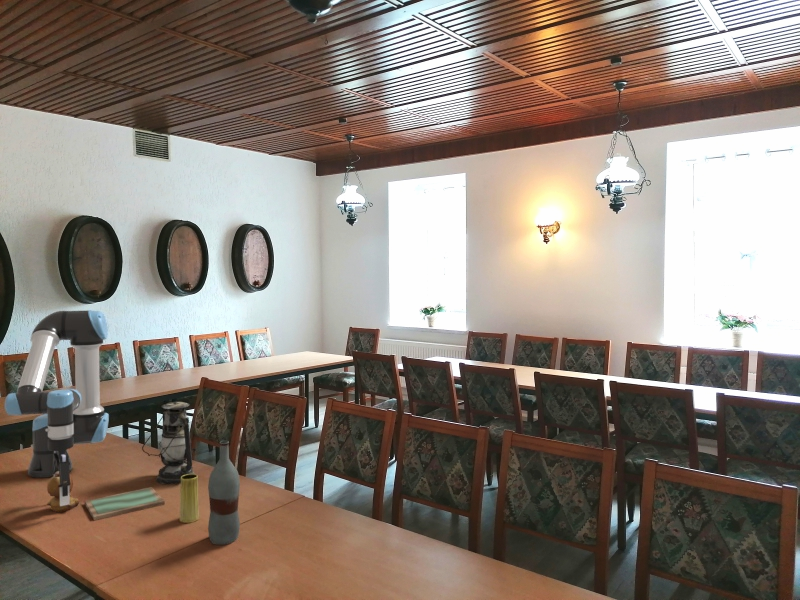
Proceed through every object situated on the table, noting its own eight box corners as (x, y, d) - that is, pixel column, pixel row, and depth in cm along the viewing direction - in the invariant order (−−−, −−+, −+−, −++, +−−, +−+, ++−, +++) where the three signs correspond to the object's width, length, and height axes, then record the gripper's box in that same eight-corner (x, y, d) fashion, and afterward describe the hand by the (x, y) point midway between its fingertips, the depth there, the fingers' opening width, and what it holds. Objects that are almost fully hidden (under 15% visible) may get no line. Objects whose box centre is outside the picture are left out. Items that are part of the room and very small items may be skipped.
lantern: (207, 477, 226) (206, 402, 224) (164, 492, 210) (164, 411, 208) (176, 467, 236) (176, 396, 234) (134, 481, 220) (133, 404, 218)
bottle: (210, 548, 168) (210, 448, 167) (205, 535, 176) (205, 439, 175) (242, 541, 173) (243, 444, 171) (236, 529, 181) (236, 436, 179)
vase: (203, 517, 189) (203, 475, 188) (189, 524, 184) (189, 481, 183) (189, 513, 192) (189, 472, 191) (175, 520, 186) (175, 477, 185)
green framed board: (84, 504, 198) (84, 500, 198) (151, 490, 212) (151, 486, 212) (94, 520, 185) (94, 516, 185) (164, 504, 199) (164, 500, 199)
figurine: (85, 503, 198) (77, 466, 194) (71, 517, 191) (63, 479, 187) (58, 502, 199) (50, 465, 195) (43, 516, 192) (35, 477, 188)
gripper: (42, 430, 200) (43, 489, 201) (53, 447, 180) (53, 513, 181) (67, 426, 205) (68, 484, 206) (79, 443, 185) (80, 507, 186)
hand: (61, 498), depth 194 cm, fingers open, 13 cm apart
